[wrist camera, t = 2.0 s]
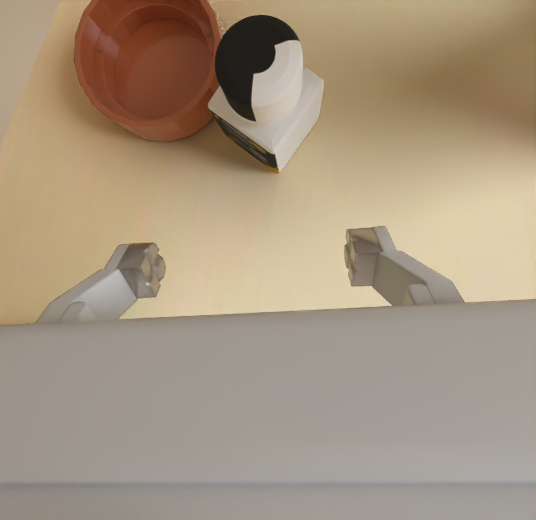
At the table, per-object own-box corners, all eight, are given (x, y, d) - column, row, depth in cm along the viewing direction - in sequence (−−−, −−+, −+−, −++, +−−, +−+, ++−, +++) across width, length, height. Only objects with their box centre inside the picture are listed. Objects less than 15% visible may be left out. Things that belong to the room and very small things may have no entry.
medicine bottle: (225, 136, 32) (182, 69, 20) (264, 79, 31) (245, -25, 19) (278, 175, 32) (268, 131, 20) (319, 118, 31) (334, 36, 19)
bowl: (158, -19, 32) (135, -63, 27) (258, 64, 31) (251, 33, 27) (79, 88, 33) (46, 63, 29) (174, 170, 33) (154, 157, 28)
